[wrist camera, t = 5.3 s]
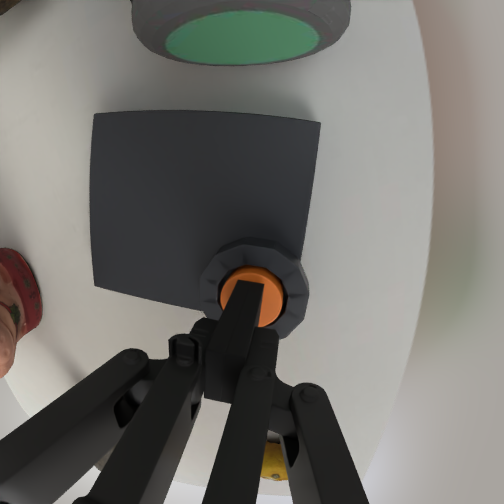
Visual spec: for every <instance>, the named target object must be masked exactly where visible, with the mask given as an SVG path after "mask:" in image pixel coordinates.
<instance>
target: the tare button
mask: <svg viewBox="0 0 504 504" xmlns="http://www.w3.org/2000/svg"><path fill="white" fill-rule="evenodd" d="M237 280H244V281H250V282H257V283H263V284H264V291H263V298H262V305H261V312H260V319H259V325H258V327H263V326H266V325H268V324H270V323H271V322H273V321H274V320H275V319H276V318H277V317H278V315H279V313H280V311H281V308H282V302H283V293H284V292H283V285H282V282H281V280H280V278H279V277H277V276H276V275H275V274H273V273H272V272H271V271H269V270H268V269H267V268H265V267H258V266H252V265H244V266H241V267H238V268H237V269H235V270H234V271H233V272H232V273H231V274H230V276H229V277H228V279H227V281H226V283H225V284H224V286H223V288H222V291H221V305H222V308H223V310H224V308H225V306H226V304H227V302H228V300H229V297H230V295H231V293H232V291H233V289H234V287H235V285H236V282H237Z"/></svg>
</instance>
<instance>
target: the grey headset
mask: <svg viewBox="0 0 504 504" xmlns="http://www.w3.org/2000/svg"><path fill="white" fill-rule="evenodd" d="M130 1H131V3H132V25H133V30H134V32H135V34H136V36H137V38H138V39H139V40H140V41H141V42H142V44H143V45H144V46H145V47H147V48H148V49H149V50H150V51H152V52H154V53H156V54H158V55H161V56H163V57H166V58H169V59H172V60H175V61H179V62H184V63H190V64H199V65H213V66H242V65H258V64H269V63H277V62H284V61H289V60H294V59H298V58H302V57H306V56H309V55H312V54H315V53H317V52H319V51H321V50H323V49H325V48H327V47H329V46H331V45H332V44H334V43H335V42H336V41H338V40H339V38H340V37H341V36H342V34H343V33H344V32H345V30H346V29H347V27H348V26H349V21H350V12H351V2H350V0H130Z"/></svg>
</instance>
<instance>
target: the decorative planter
mask: <svg viewBox="0 0 504 504" xmlns="http://www.w3.org/2000/svg"><path fill="white" fill-rule="evenodd" d="M41 317H42V305H41V298H40V294H39V291H38V288H37V285H36V282H35V279H34V277H33V275H32V273H31V270H30V268H29V267H28V265H27V263H26V262H25V260H24V259H23V257H22V256H21V255H20V254H19V253H18V252H16V251H14V250H12V249H8V248H0V378H2V377H3V376H4V375H6V374H7V373H8V371H9V370H10V368H11V366H12V365H13V362H14V357H15V350H16V344H17V342H18V341H19V340H20V339H21V338H22V337H23V336H24V335H25V334H27V333H28V332H29V331H31V330H32V329H34V328H36V327H37V326H38V325H39V323H40V321H41Z"/></svg>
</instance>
